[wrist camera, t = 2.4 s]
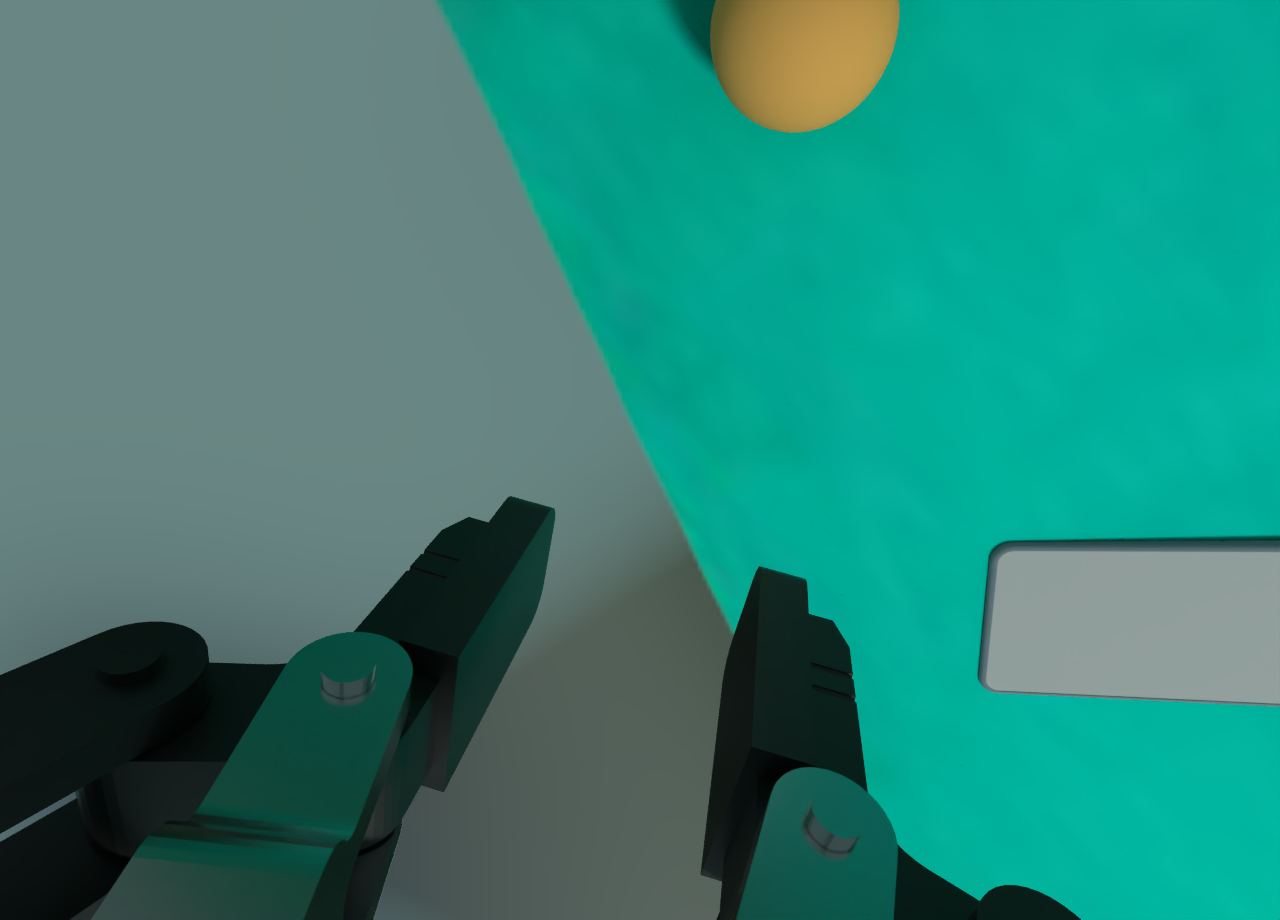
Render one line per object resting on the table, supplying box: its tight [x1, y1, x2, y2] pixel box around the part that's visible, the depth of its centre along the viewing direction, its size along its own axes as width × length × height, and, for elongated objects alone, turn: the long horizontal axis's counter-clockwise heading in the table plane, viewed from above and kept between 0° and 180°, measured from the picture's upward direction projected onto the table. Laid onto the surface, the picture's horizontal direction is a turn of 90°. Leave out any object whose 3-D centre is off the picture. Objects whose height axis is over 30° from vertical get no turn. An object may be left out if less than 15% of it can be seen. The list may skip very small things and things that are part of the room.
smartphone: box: [978, 540, 1280, 707], centre depth 30 cm, size 8×1×15 cm
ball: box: [710, 0, 899, 132], centre depth 21 cm, size 6×6×6 cm
